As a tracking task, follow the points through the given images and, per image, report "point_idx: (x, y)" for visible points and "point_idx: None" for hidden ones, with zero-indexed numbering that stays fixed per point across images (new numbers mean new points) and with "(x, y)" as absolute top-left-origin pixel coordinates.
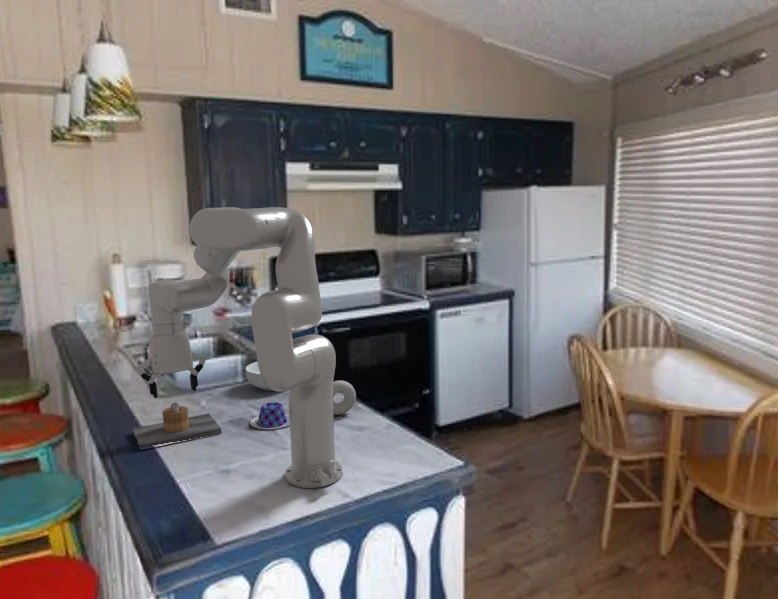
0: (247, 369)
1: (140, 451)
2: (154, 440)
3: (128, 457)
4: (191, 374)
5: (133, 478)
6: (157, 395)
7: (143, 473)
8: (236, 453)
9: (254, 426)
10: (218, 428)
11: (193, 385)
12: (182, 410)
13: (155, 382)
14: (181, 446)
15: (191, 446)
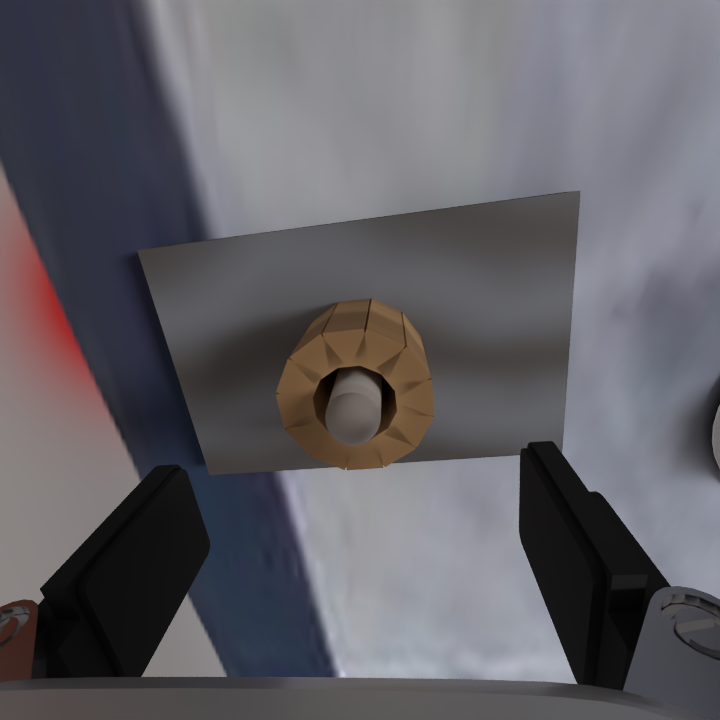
0: None
1: None
2: (263, 455)
3: None
4: (610, 655)
5: (225, 623)
6: (203, 562)
7: (249, 609)
8: (537, 610)
9: (718, 437)
10: None
11: (543, 586)
12: (400, 429)
13: (117, 658)
14: (370, 484)
15: (406, 500)
